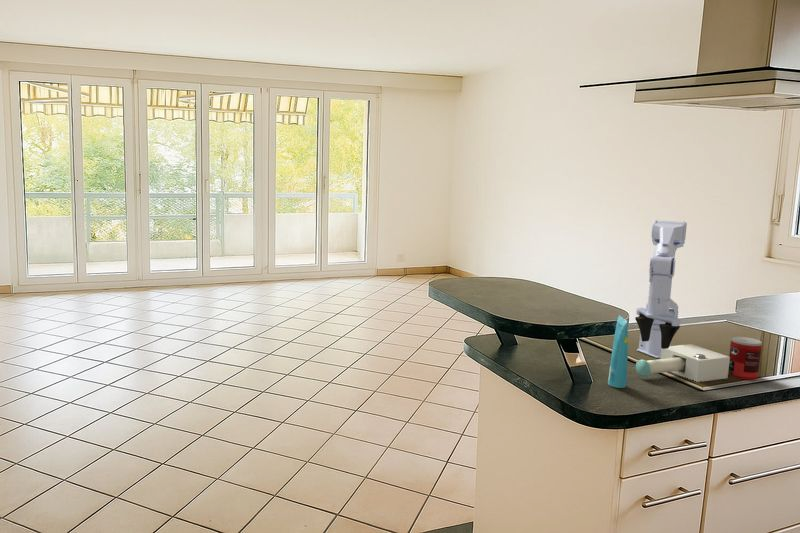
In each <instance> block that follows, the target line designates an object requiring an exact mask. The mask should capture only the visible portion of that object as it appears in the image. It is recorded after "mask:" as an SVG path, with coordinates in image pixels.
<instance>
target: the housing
mask: <svg viewBox="0 0 800 533" xmlns="http://www.w3.org/2000/svg"><path fill="white" fill-rule="evenodd" d="M696 354H703V355H705V359H698V358H696ZM676 357H683V358H685V359H686V367H685V370H678V371H670V373H673V374H675V375H678V376H680V377H682V378H685V377H686V378H685V379H687V378H688V379H687V380H690V379H691V381H692V380H694V381H693V382H695V381H696V383H700V381H702V382H708V381H717V380H723V379H728V377H729V376H728V375H729V374H728V369H729V361H730V357H729V355H725V354H722V353H720V352H716V351H713V350H710V349H707V348H704V347H701V346H698V345H695V344H693V343H687V344H678V345H671V346H669V348H667V349H662V348H661V357H660V358H659V359H667V358H676Z"/></svg>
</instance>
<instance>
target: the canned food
mask: <svg viewBox="0 0 800 533" xmlns="http://www.w3.org/2000/svg"><path fill="white" fill-rule="evenodd" d="M762 346H763V343H762V341H761V340H759V339H756V338H752V337H746V336H733V337H731V339H730V345H729V355H728V356H729V357H730V361H729V369H728V375H729V376H730V377H732V378H735V379H738V378H739V380H743V379H744V380H745V381H755V380H757V379H758V377H759V370H760V364H761V355H762V349H763V348H762ZM754 379H755V380H754Z"/></svg>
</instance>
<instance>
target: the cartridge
mask: <svg viewBox="0 0 800 533" xmlns="http://www.w3.org/2000/svg"><path fill="white" fill-rule="evenodd" d="M685 367H686V359H685V358H683V357H676V358H667V359H660V358H657V359H652V360H646V359H639V360H637V361H636V363H635V369H636V373H637V374H638V375H639V376H640V377H644V378H645V377H648V376H649V375H653V374H660V373H661V374H662V373H668V372H670V371H678V370H685ZM670 373H671V372H670Z"/></svg>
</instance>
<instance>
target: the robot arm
mask: <svg viewBox="0 0 800 533" xmlns="http://www.w3.org/2000/svg"><path fill="white" fill-rule="evenodd" d="M687 224H688V223H687V222H686V221H674V220H673V221H672V220H671V221H670V220H658V219H654V220H653V221H652V226H651V242H652V245H653V246H655V247H654V250H653V255H652V257H651V258H650V259H649V264H648V267H649V268H648V274H649V275H648V276H649V279H648V281H649V287H648V288H649V289H648V298H647V299H648V300H647V302H646V304H645V305H646V306H645V308H644V307H637V308H636V313H635V314H636V315H637V316H635V317H634V320H635V321H636V323H637V325H638V329H639V332H640V334H639V343H638V348H636V352H640V353H643V354H645V355H648V356H651V357H653V358H656V359H660V357H661V348H662V349H667V348H669V346H672V345H671V344H672V341H673V338H674V337H675V335H676V334H677V332H678V331H679V329H680V328H681V319H680V318H679V305H678V303H677V302H675V301H674V300H673V299H672V298H671V294H672V283H673V282H672V281H673V278H674V276H675V271H676V251H677V250H678V249H679V248H683V247H684V245H685V243H686V242H685V241H686V237H687V226H688V225H687Z"/></svg>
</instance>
